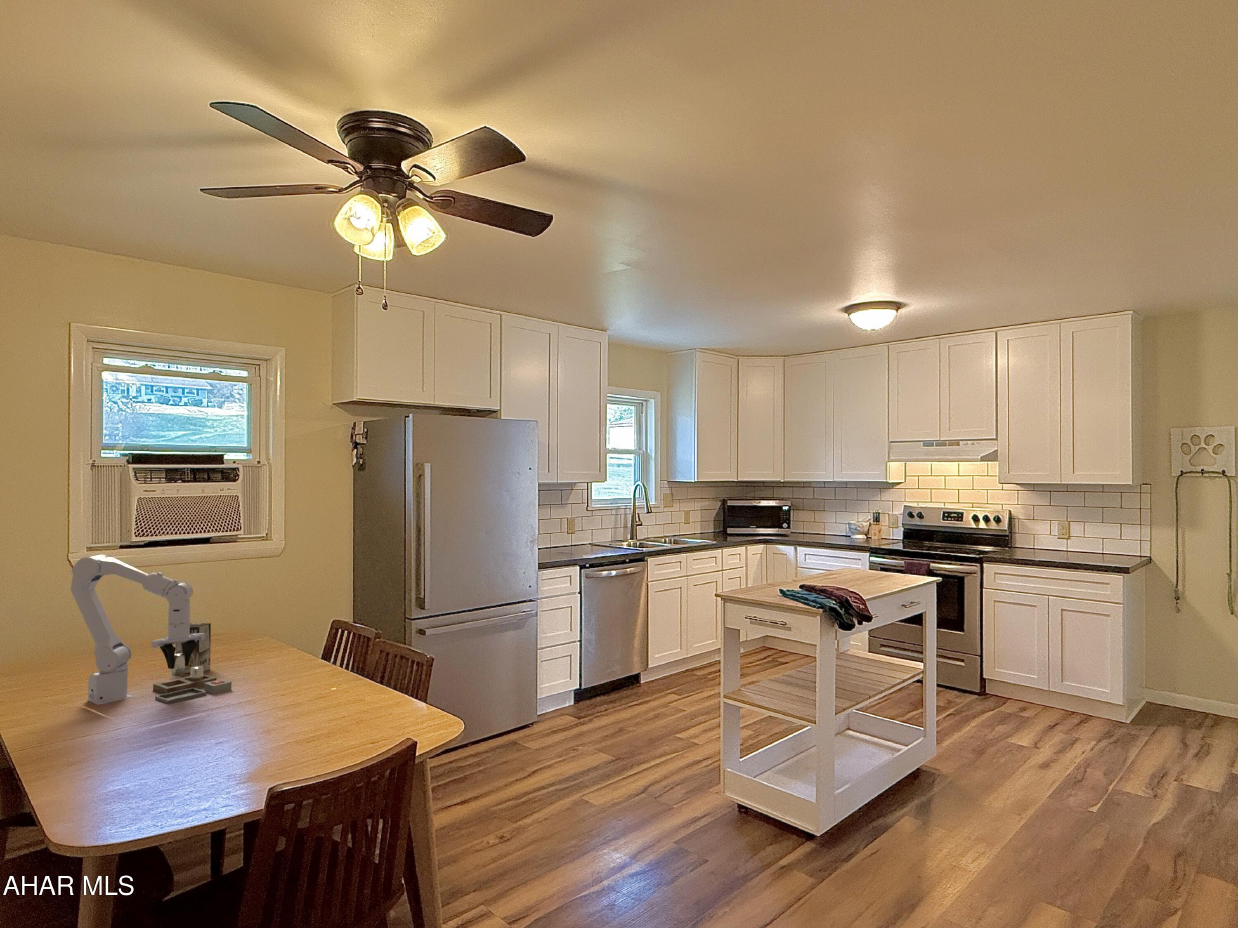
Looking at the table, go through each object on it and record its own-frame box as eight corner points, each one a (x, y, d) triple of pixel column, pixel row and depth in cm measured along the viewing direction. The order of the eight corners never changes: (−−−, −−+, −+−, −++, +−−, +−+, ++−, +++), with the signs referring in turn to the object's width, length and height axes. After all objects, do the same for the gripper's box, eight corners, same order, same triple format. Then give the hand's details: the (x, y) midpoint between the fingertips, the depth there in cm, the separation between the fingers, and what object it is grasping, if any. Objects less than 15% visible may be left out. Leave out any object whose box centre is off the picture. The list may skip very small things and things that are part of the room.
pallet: (166, 696, 224) (167, 688, 224) (153, 691, 229) (153, 683, 229) (216, 685, 236) (216, 677, 236) (202, 680, 241) (202, 673, 241)
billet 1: (174, 676, 222) (175, 656, 222) (169, 674, 225) (169, 654, 225) (187, 673, 225) (187, 654, 225) (182, 671, 228) (182, 652, 228)
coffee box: (211, 668, 256) (212, 622, 257) (198, 673, 250) (199, 626, 250) (186, 668, 257) (187, 622, 258) (174, 672, 251) (174, 625, 251)
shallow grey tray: (168, 705, 215) (168, 700, 215) (155, 700, 220) (155, 695, 220) (206, 696, 224) (206, 691, 224) (193, 692, 229) (193, 687, 229)
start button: (215, 691, 227) (216, 683, 227) (211, 689, 229) (212, 682, 229) (223, 689, 229) (223, 681, 229) (219, 687, 231) (219, 680, 231)
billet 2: (193, 688, 233) (194, 669, 233) (188, 686, 235) (188, 667, 235) (205, 685, 236) (205, 667, 236) (199, 683, 238) (199, 665, 238)
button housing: (213, 695, 225) (213, 685, 225) (203, 692, 228) (204, 682, 228) (231, 691, 230) (231, 681, 230) (222, 688, 233) (222, 678, 233)
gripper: (159, 628, 217) (158, 673, 217) (209, 620, 229) (208, 664, 229) (148, 625, 221) (147, 670, 221) (198, 617, 233) (197, 660, 233)
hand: (177, 666), depth 225 cm, fingers closed on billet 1, 4 cm apart
